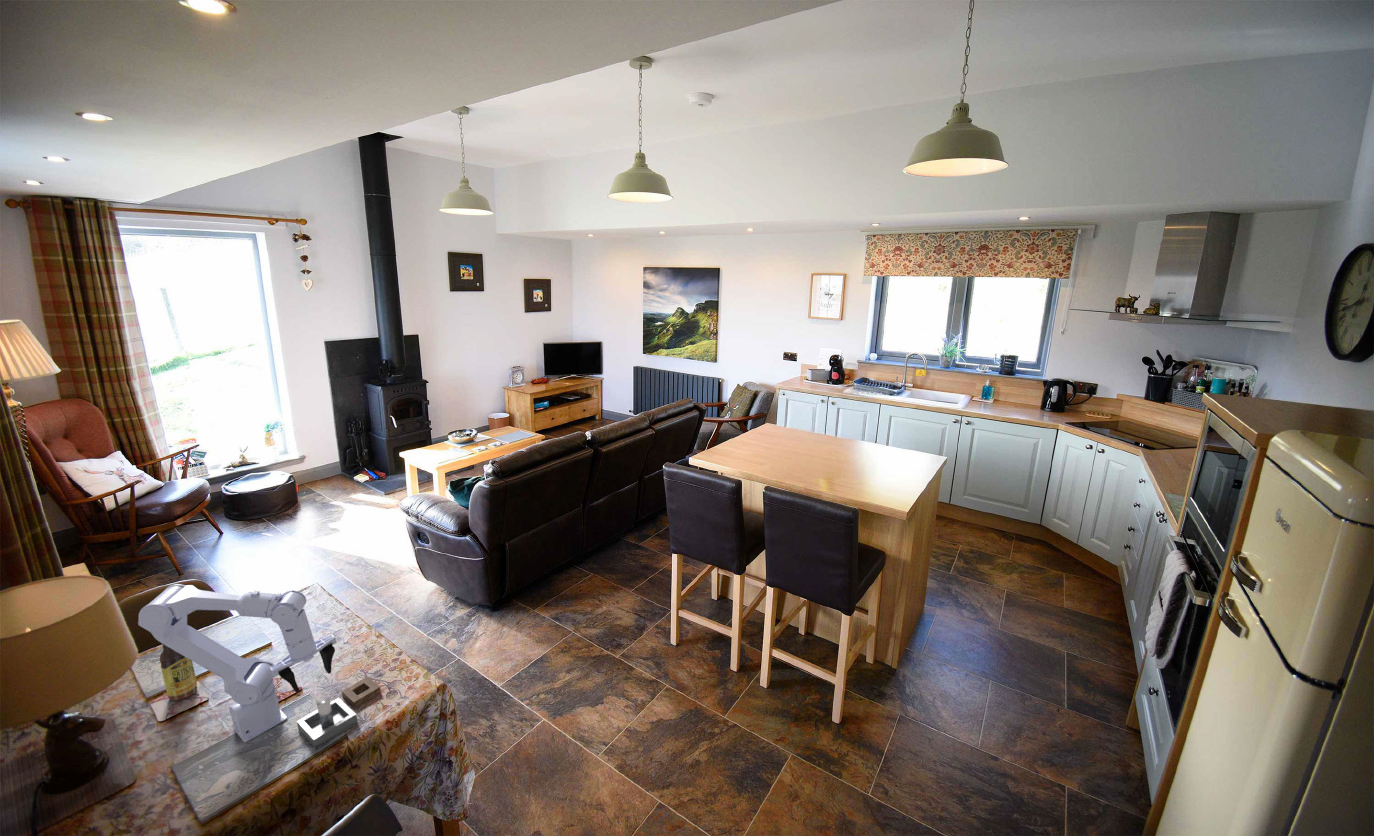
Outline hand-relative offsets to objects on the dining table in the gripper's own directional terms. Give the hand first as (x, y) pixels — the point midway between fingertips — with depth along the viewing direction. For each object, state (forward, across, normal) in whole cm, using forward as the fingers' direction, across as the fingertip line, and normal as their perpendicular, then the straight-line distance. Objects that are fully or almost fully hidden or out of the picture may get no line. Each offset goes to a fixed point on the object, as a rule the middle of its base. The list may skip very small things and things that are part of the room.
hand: (312, 680), depth 144 cm
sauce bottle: (+7, -20, +39) cm, 44 cm away
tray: (+11, -1, -6) cm, 13 cm away
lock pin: (+10, -1, -6) cm, 12 cm away
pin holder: (+11, +9, -2) cm, 15 cm away
